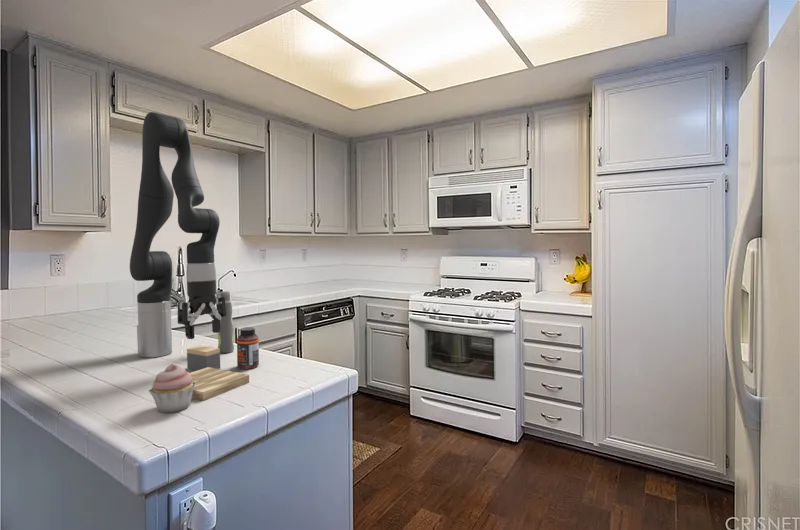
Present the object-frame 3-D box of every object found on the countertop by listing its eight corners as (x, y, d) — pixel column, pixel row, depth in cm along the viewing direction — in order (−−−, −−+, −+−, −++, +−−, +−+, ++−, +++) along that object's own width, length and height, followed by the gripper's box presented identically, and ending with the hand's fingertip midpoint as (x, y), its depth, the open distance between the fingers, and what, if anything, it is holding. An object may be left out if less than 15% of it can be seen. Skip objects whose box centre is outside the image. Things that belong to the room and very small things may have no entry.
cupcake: (140, 417, 89) (138, 370, 88) (162, 400, 98) (161, 357, 97) (186, 416, 89) (184, 369, 88) (204, 399, 98) (203, 357, 98)
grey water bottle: (232, 349, 143) (230, 290, 142) (235, 352, 139) (233, 291, 138) (216, 351, 141) (215, 291, 139) (219, 354, 137) (217, 292, 135)
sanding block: (187, 369, 121) (186, 348, 121) (200, 365, 125) (200, 345, 125) (207, 373, 118) (206, 352, 117) (220, 368, 122) (219, 348, 122)
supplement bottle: (232, 367, 122) (231, 329, 122) (248, 362, 128) (248, 325, 127) (247, 371, 120) (246, 331, 119) (263, 365, 125) (262, 327, 124)
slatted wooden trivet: (160, 390, 104) (160, 382, 104) (208, 374, 117) (208, 367, 116) (203, 400, 97) (203, 392, 97) (249, 382, 110) (249, 374, 110)
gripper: (213, 276, 128) (215, 329, 129) (169, 280, 115) (172, 339, 116) (231, 277, 125) (233, 331, 126) (188, 281, 112) (190, 342, 113)
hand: (203, 335), depth 121 cm, fingers open, 8 cm apart
